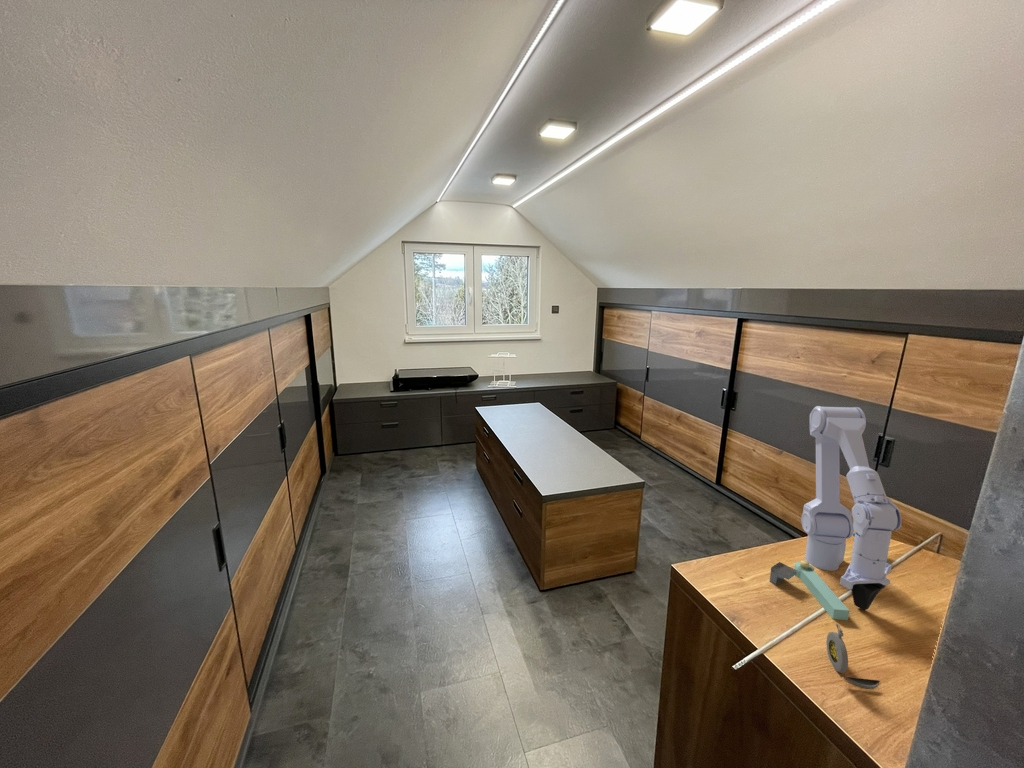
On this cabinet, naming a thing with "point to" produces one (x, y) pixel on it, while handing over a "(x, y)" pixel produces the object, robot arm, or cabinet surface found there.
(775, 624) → the cabinet surface
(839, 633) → the pocket watch
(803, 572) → the latch bar
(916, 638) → the cabinet surface
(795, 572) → the block
